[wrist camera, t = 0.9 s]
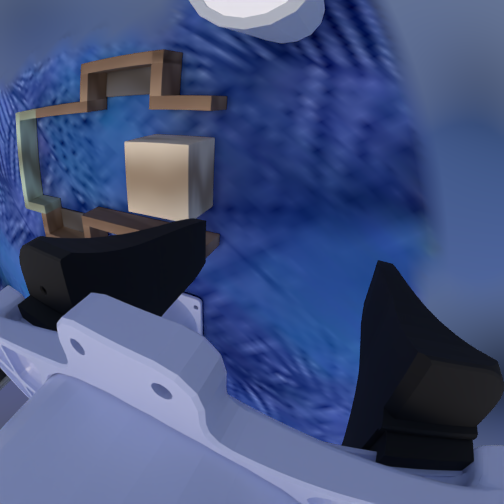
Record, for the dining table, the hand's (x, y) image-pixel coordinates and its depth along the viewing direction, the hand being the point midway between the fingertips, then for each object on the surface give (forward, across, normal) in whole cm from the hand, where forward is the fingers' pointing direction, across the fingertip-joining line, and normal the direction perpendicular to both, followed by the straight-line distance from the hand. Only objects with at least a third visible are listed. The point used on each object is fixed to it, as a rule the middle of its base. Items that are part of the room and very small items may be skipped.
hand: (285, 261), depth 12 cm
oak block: (+11, +11, 0) cm, 15 cm away
